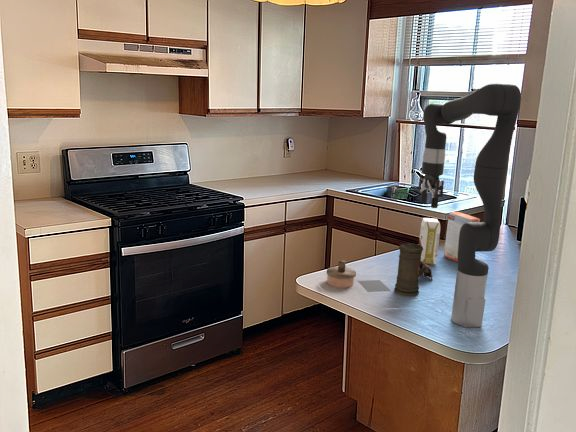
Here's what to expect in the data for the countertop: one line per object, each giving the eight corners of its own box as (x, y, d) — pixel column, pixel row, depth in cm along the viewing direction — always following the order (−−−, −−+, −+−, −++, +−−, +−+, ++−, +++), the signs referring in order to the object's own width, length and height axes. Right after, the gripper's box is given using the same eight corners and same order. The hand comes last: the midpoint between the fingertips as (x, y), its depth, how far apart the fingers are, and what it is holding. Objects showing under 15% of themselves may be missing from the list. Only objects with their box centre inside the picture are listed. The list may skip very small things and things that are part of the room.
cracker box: (474, 264, 234) (480, 218, 229) (463, 265, 232) (469, 219, 227) (453, 255, 246) (459, 211, 242) (443, 256, 244) (448, 211, 239)
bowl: (356, 288, 199) (357, 277, 198) (331, 288, 197) (332, 278, 196) (348, 278, 208) (349, 269, 207) (324, 279, 206) (324, 269, 205)
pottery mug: (436, 284, 209) (430, 268, 205) (413, 292, 211) (406, 276, 207) (430, 267, 219) (424, 251, 216) (408, 275, 221) (401, 259, 218)
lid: (360, 278, 198) (361, 265, 196) (331, 279, 195) (332, 266, 194) (350, 268, 208) (351, 256, 207) (323, 269, 206) (324, 256, 204)
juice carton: (433, 259, 238) (438, 218, 234) (436, 265, 230) (442, 222, 226) (416, 258, 239) (421, 217, 235) (419, 264, 231) (423, 221, 226)
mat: (390, 291, 197) (390, 290, 197) (367, 292, 195) (367, 291, 195) (379, 281, 208) (379, 280, 207) (357, 281, 206) (357, 280, 206)
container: (400, 298, 192) (406, 250, 187) (389, 288, 200) (394, 242, 196) (423, 296, 194) (428, 249, 190) (411, 287, 202) (416, 242, 198)
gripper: (453, 164, 185) (447, 209, 189) (433, 158, 199) (428, 201, 202) (433, 163, 183) (428, 209, 187) (415, 158, 197) (410, 201, 201)
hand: (428, 205), depth 195 cm, fingers open, 8 cm apart
